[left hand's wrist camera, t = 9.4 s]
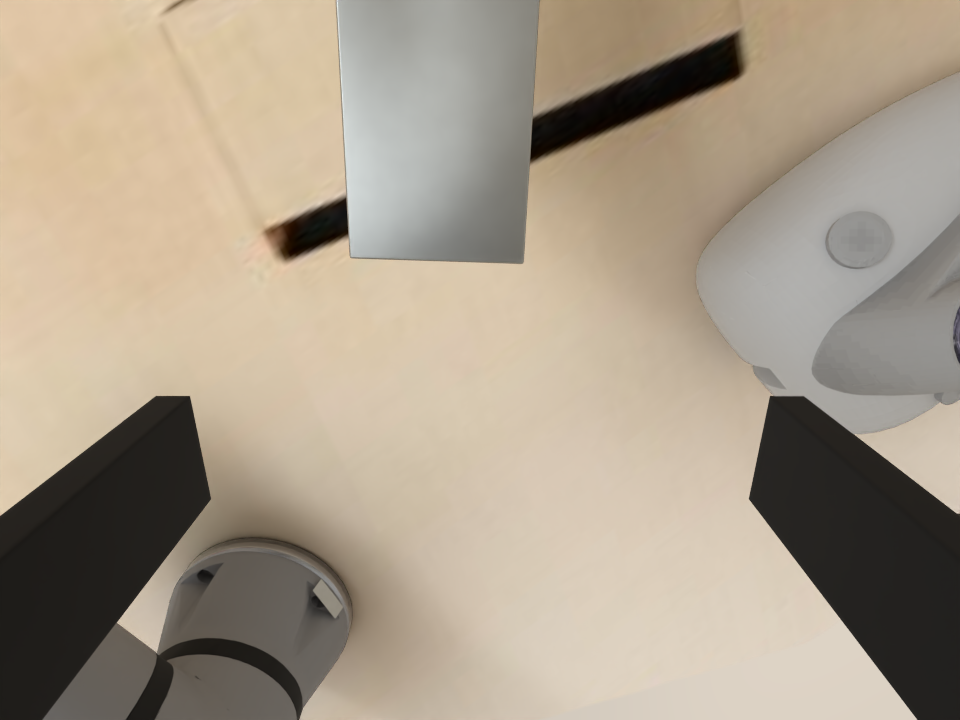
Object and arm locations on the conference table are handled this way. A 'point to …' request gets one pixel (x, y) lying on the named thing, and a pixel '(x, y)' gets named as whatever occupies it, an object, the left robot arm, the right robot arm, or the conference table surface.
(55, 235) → the conference table surface
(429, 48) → the bar
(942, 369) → the projector
